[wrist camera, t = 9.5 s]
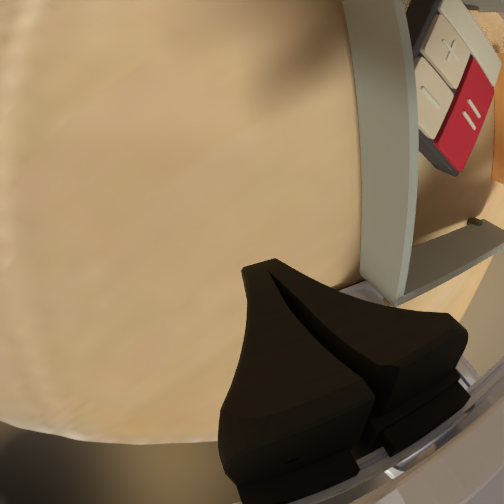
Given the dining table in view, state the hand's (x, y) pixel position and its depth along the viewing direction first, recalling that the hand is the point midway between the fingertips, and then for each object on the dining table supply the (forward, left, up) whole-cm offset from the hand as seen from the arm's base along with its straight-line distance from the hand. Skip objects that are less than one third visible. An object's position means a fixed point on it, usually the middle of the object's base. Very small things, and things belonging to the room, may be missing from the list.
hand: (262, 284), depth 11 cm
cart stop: (+5, -34, -9) cm, 35 cm away
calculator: (+8, -20, -10) cm, 24 cm away
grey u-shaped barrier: (+5, -21, -9) cm, 23 cm away
